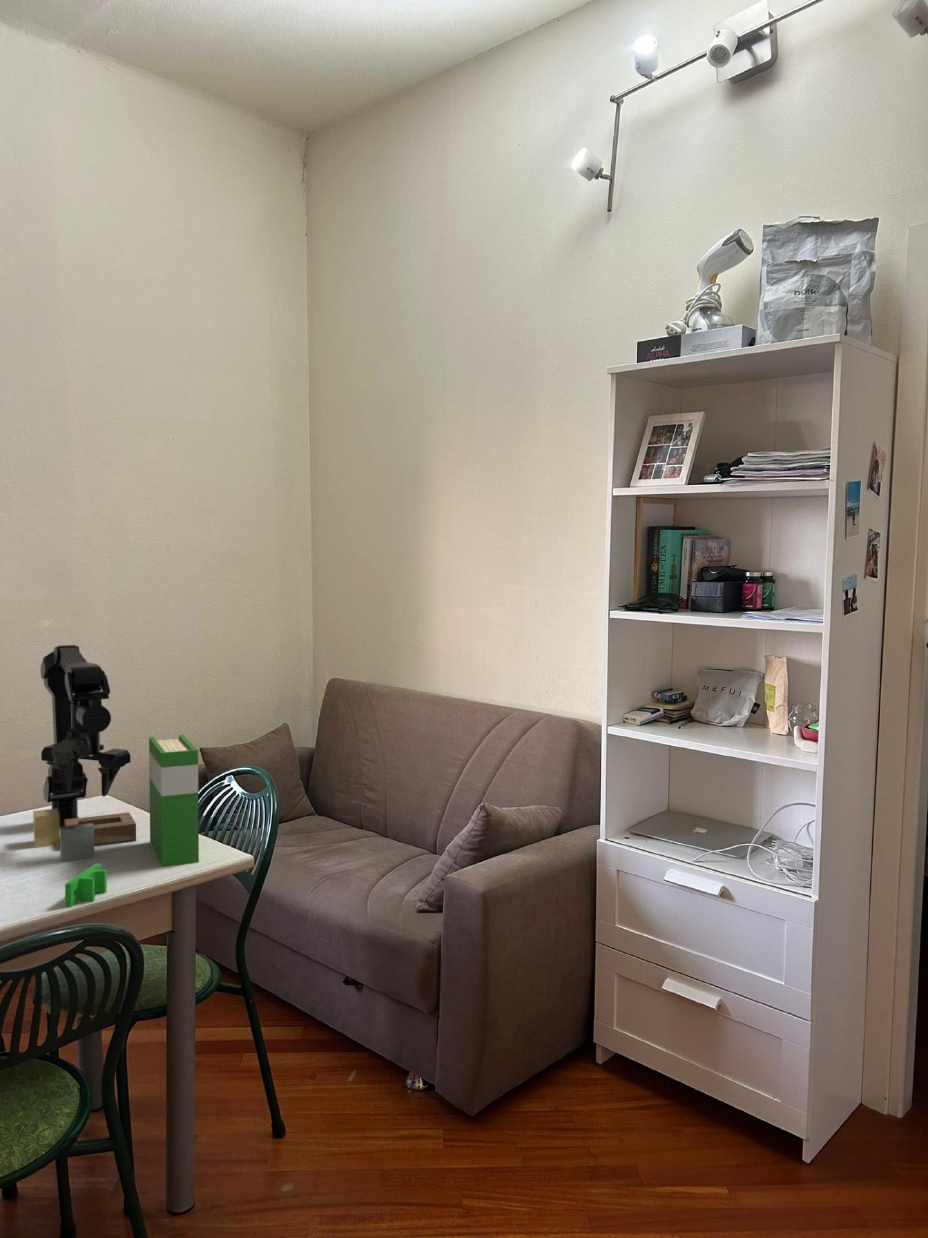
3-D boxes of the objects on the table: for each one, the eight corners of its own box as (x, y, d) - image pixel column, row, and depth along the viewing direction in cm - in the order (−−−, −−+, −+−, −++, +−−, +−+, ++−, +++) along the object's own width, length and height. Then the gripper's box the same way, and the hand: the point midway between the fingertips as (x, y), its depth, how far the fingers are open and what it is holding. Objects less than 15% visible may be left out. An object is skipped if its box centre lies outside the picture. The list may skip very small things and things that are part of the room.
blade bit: (60, 859, 198) (59, 827, 197) (93, 855, 201) (92, 823, 200) (61, 862, 196) (60, 830, 195) (94, 858, 199) (94, 826, 198)
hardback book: (150, 842, 210) (148, 737, 208) (184, 838, 213) (183, 734, 211) (162, 867, 194) (161, 753, 192) (198, 862, 197) (198, 750, 195)
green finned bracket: (84, 909, 172) (84, 885, 171) (65, 908, 172) (64, 883, 172) (114, 887, 183) (113, 864, 182) (96, 885, 183) (95, 863, 183)
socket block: (64, 837, 213) (64, 819, 213) (129, 829, 219) (129, 812, 219) (69, 849, 204) (68, 831, 204) (136, 841, 211) (136, 823, 210)
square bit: (33, 841, 209) (33, 811, 209) (57, 838, 212) (57, 808, 211) (35, 848, 205) (34, 817, 204) (59, 845, 207) (59, 814, 207)
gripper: (22, 727, 196) (23, 799, 198) (99, 735, 192) (100, 809, 193) (58, 717, 207) (59, 786, 209) (131, 724, 202) (132, 794, 204)
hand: (86, 794), depth 203 cm, fingers open, 9 cm apart
